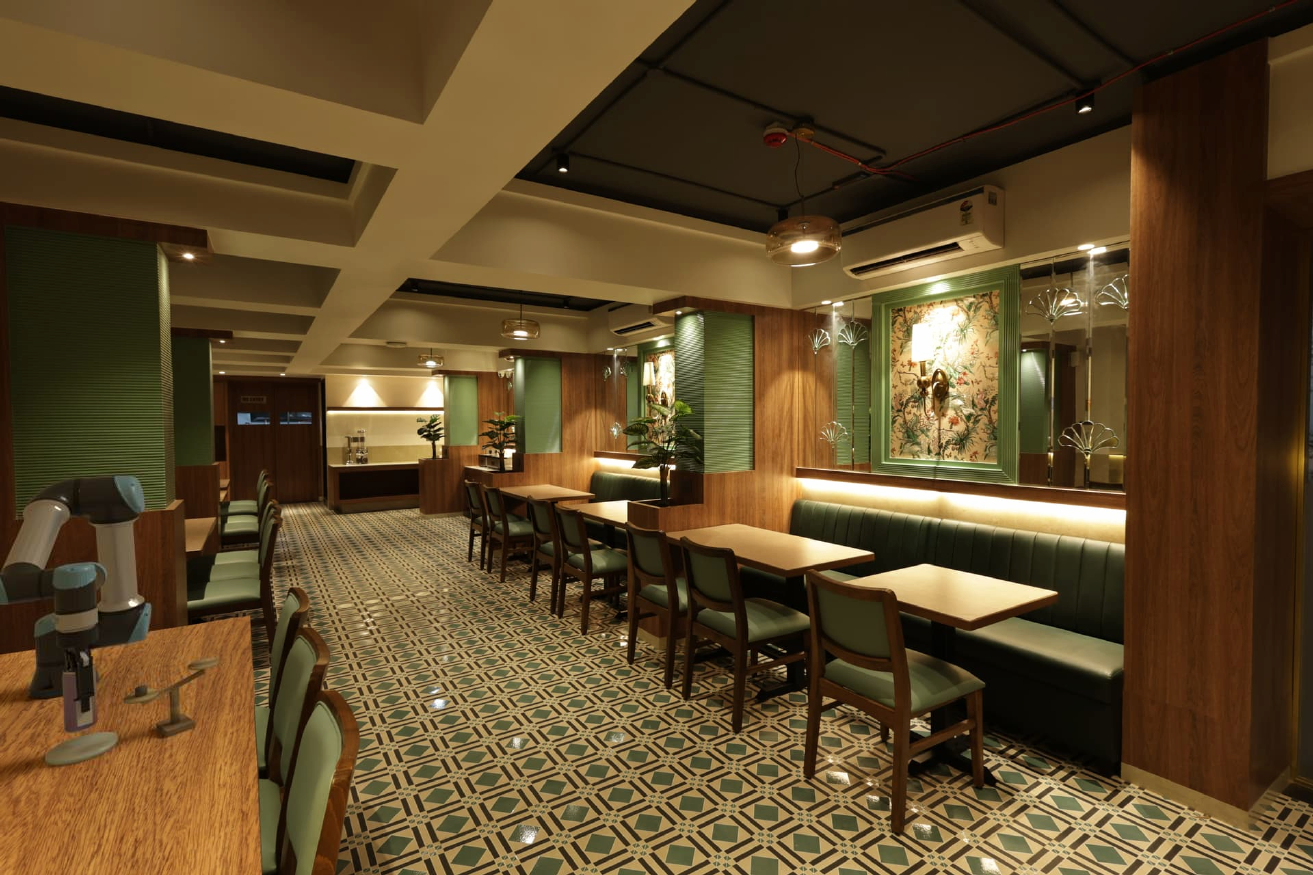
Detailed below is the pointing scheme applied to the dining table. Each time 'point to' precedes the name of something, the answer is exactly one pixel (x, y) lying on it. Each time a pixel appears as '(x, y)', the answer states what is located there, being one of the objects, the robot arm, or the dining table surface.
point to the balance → (171, 699)
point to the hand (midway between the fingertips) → (81, 720)
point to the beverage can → (70, 705)
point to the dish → (81, 748)
